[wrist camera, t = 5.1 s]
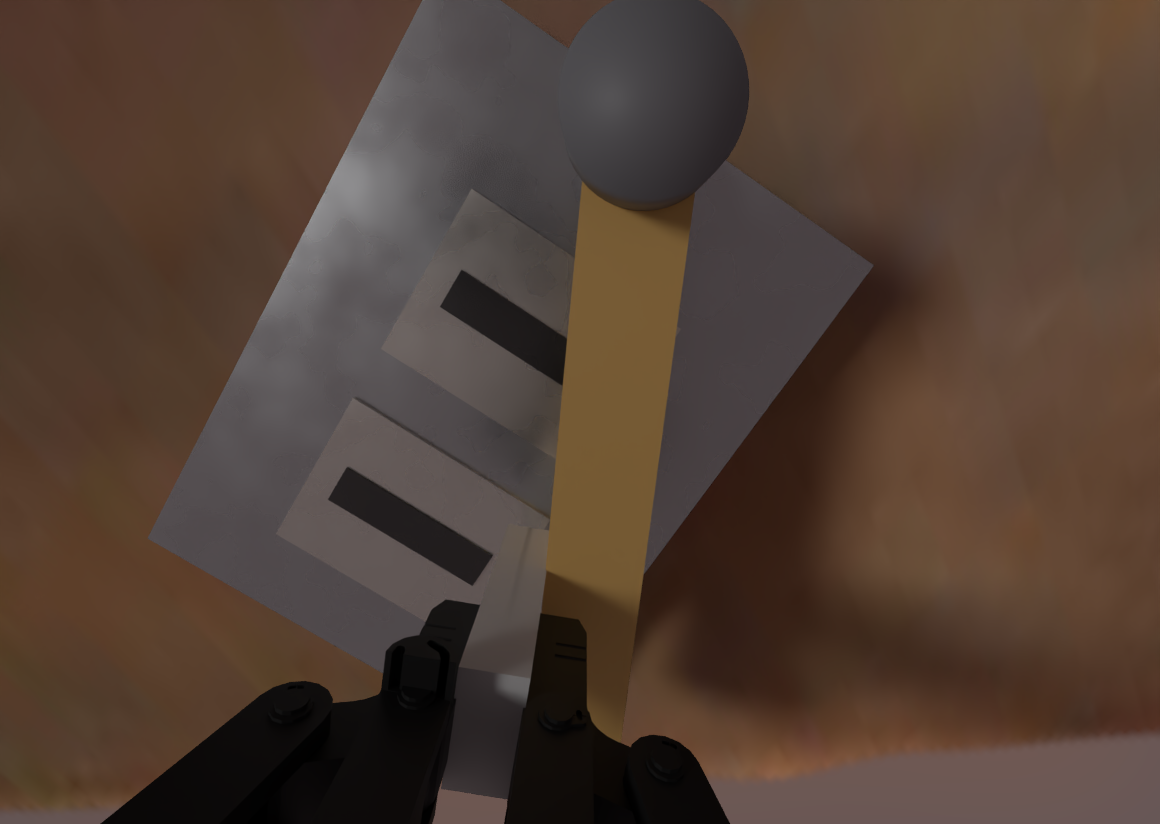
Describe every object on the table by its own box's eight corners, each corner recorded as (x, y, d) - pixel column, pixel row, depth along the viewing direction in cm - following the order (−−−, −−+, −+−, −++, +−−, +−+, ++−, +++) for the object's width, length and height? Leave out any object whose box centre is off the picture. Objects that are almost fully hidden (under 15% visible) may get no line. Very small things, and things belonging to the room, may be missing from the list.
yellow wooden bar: (576, 77, 14) (566, -23, 10) (712, 90, 14) (766, -4, 10) (518, 727, 19) (493, 866, 14) (624, 739, 18) (632, 881, 14)
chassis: (463, 4, 19) (420, -90, 14) (839, 269, 20) (910, 261, 15) (196, 512, 23) (96, 565, 18) (522, 702, 24) (505, 795, 20)
